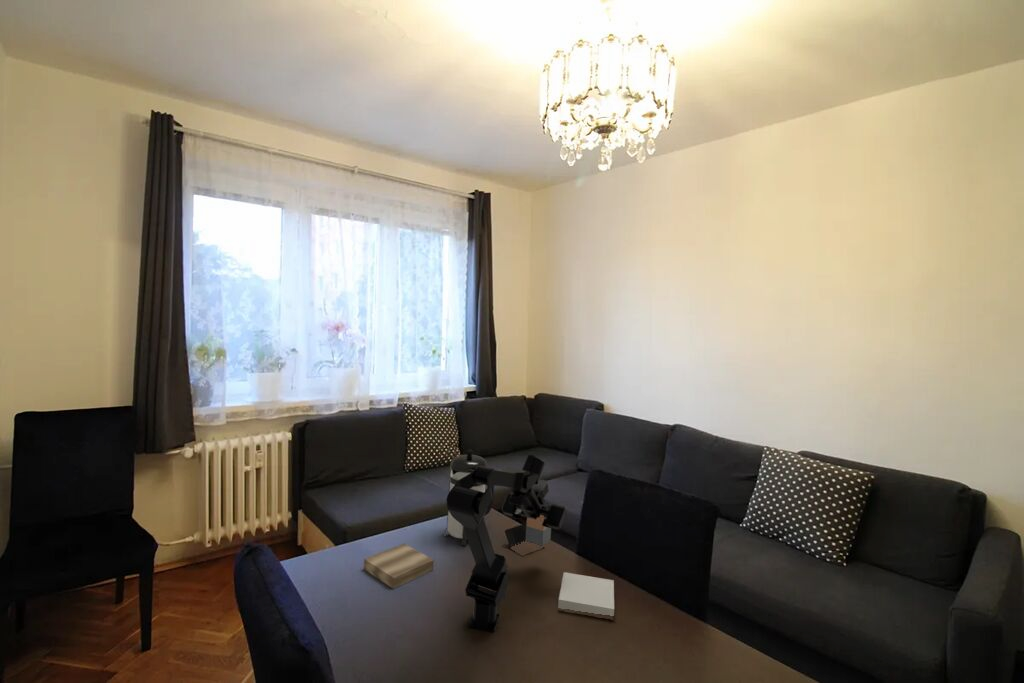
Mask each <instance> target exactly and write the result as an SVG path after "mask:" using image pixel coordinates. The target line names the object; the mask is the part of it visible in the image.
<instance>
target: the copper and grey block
mask: <svg viewBox="0 0 1024 683" xmlns="http://www.w3.org/2000/svg"><path fill="white" fill-rule="evenodd" d="M544 519H545V518H544V516H543V515H540V517H539V518H537V519H536V520H535V519H532V518H528V517H527V521H526V523H527V524H526V540H525V541H527V542H530V543H534V544H537V545H540V546H543V545H544V544H545V545H546V544H547V543H548V542H550V540H551V536H552V535H551V534H552V528H548V527H545V526H542V524H543V521H544Z"/></svg>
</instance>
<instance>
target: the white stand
mask: <svg viewBox="0 0 1024 683" xmlns="http://www.w3.org/2000/svg"><path fill="white" fill-rule="evenodd" d="M614 581H615V580H614V579H609V578H602V577H594V576H589V575H583V574H578V573H571V572H565V571H564V572H563V575H562V579H561V585H560V586H561V587H560V590H559V595H558V605H557V609H558V608H561V609H570V610H574V611H581V612H588V613H594V614H602V615H610V616H614V617H615V588H614V587H615V582H614Z"/></svg>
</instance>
